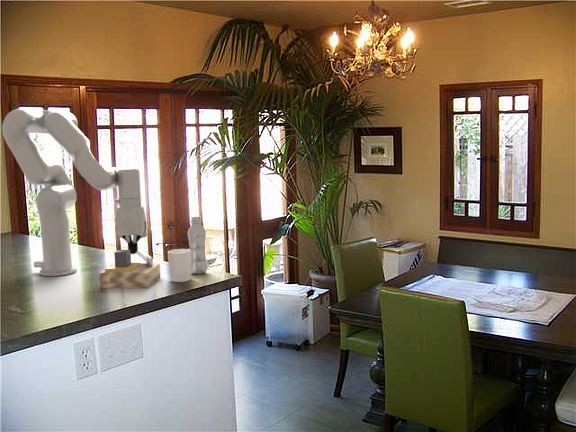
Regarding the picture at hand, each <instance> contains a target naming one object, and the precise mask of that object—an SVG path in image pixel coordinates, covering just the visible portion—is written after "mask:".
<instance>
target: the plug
mask: <svg viewBox="0 0 576 432" xmlns="http://www.w3.org/2000/svg"><path fill="white" fill-rule="evenodd" d="M113 255H114V263H113V264H111V265H109V266H107V267H106V268H105V269H104V270H105V272H132V271H134V270H135V269H137V268H138V267H140V266H141V262H132V256H131V255H132V254H131V253H130V250H128V249H118V250H116V251H114V253H113Z"/></svg>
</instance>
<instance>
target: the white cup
mask: <svg viewBox="0 0 576 432" xmlns="http://www.w3.org/2000/svg"><path fill="white" fill-rule="evenodd" d="M167 259H168V268H169V274H170V281H171V282H173V283H184V282H188V281H190V280H191V277H192V275H191V274H192V273H191V250H190V248H175V249H171V250H168V251H167Z"/></svg>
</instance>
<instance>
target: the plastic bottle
mask: <svg viewBox="0 0 576 432" xmlns="http://www.w3.org/2000/svg"><path fill="white" fill-rule="evenodd" d="M202 223H203V221H202V217H201V216H199V217H198V216H195V217H193V216H191V218H190V224H191V225H190V227H188V230H187V238H188V244H189V249H190V250H191V274H193V275H194V274H195V275H201V274H202V275H203V274H205V273H206V272H207V271H208V267H209V266H208V261H207V256H206V236H207V232H206V229H205V227H204V226H203V225H202Z"/></svg>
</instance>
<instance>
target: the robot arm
mask: <svg viewBox="0 0 576 432" xmlns="http://www.w3.org/2000/svg"><path fill="white" fill-rule="evenodd" d="M78 124H79V123H78V120H77V117H76V116H75V115H74V114H73V113H71V112H69V111H61V110H60V111H59V110H46V109H36V108H22V107H21V108H16V109H13V110H11V111H10V112H8V113H7V114H6V116H5V117H4V119H3V121H2V127H1V129H2V135H3V138H4V140H5V143H6V144H7V146H8V149H10V152H12V154H13V156H14V158H15V160H16V162H17V164H18V165H19V167H20V169H21V171H22V173H23V175H24V176H25V178H26V180H27V181H28V182H29V183H30V184H31V185H34V186H44V188H42V189H41V190H40V191H39V192H38V193H37V196H36V208H37V212H38V215H39V223H40V235H41V246H42V260H41V261H38V260H37V261H36V260H35V261H34V262H33V267H34V268H40V270H39V275H40V276H42V277H43V276H44V277H58V276H59V277H61V276H67V275H71V274H74V273H76V272H77V271H78V270H77V267H76V266H74V265H73V263H72V250H71V235H70V223H69V218H68V213H67V211H66V210H67V209H70V208H72V207H73V206H74V205H75V204H76V201H77V192H76V189H75V187H74V185H73V184H72V181H71V180H70V178H69V176H68V174H67V173H66V170H64V167H63V166H62V164H61V163H60V162H58V161H57V160H56V159H54V158H53V157H52V158H51V157H45V156H44V155H43V153H42V152H41V150H40V148H39V146H38V144H37V143H36V142H35V140H34V139H32V138H31V136H30V133H31V134H33V133H34V134H35V133H36V134H37V133H38V134H48V135H50V136H51V137H52V138H53V139H54V141H56V143H58V144H59V145H60V147H62V148H63V150H64V151H65V152H66V153H67V154H68V155H69V157H70V158H71V161H72V163H73V165H74V167H75V168H76V170H77V172H78V173H79V174H80V175H81V177H83V178H84V180H85V181H86V182H87V183H88V184H89V185H90V186H91V187H93V188H94V189H95V190H98V191H106V190H109V189H114V188H118V199H115V200H114V201H115V204H118V206H117V207H116V210H115V211H116V212H115V232H116V233H115V234H116V237H117V238H121V239H123V240H124V241H125V242H126V243H127V250H130V253H131V255H135V254H136V253H137V251H138V248H139V246H138V242H139V241H140V240H141V239H143V238H146V237H148V234H147V229H148V227H147V218H146V212H145V209H144V205H142V197H141V196H142V194H141V178H140V177H141V176H140V169H139V168H138V167H115V166H114V167H113V166H112V167H111V166H108V167H103V166H102V165H101V164H100V163H99V161H98V160H97V159H96V158H95V157H94V155H93V154H92V151H91V141H90V140H89V138H87V136H85V134H84V133H83V132H82V131H81V130H80V129H79V128H78V126H79V125H78Z"/></svg>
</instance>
